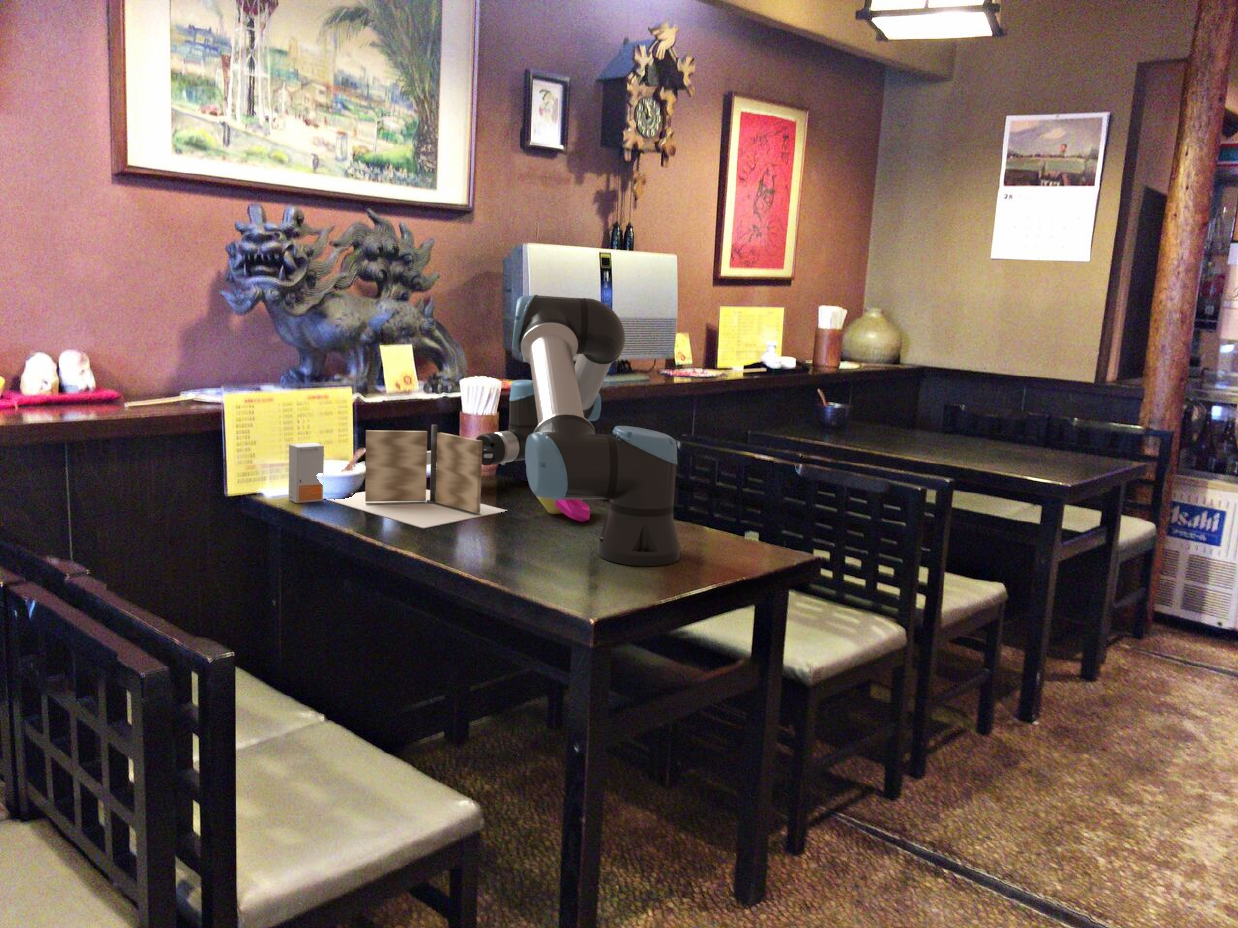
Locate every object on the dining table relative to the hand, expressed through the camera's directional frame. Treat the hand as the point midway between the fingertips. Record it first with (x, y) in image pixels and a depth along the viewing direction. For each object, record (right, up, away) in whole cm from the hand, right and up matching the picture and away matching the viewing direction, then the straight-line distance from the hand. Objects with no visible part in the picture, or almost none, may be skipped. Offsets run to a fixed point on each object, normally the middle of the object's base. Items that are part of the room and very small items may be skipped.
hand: (419, 459), depth 219 cm
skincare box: (-22, -9, -9) cm, 25 cm away
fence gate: (-4, -9, -7) cm, 12 cm away
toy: (+32, -12, -8) cm, 35 cm away
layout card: (+1, -10, -7) cm, 12 cm away
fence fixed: (+9, -11, -8) cm, 16 cm away
